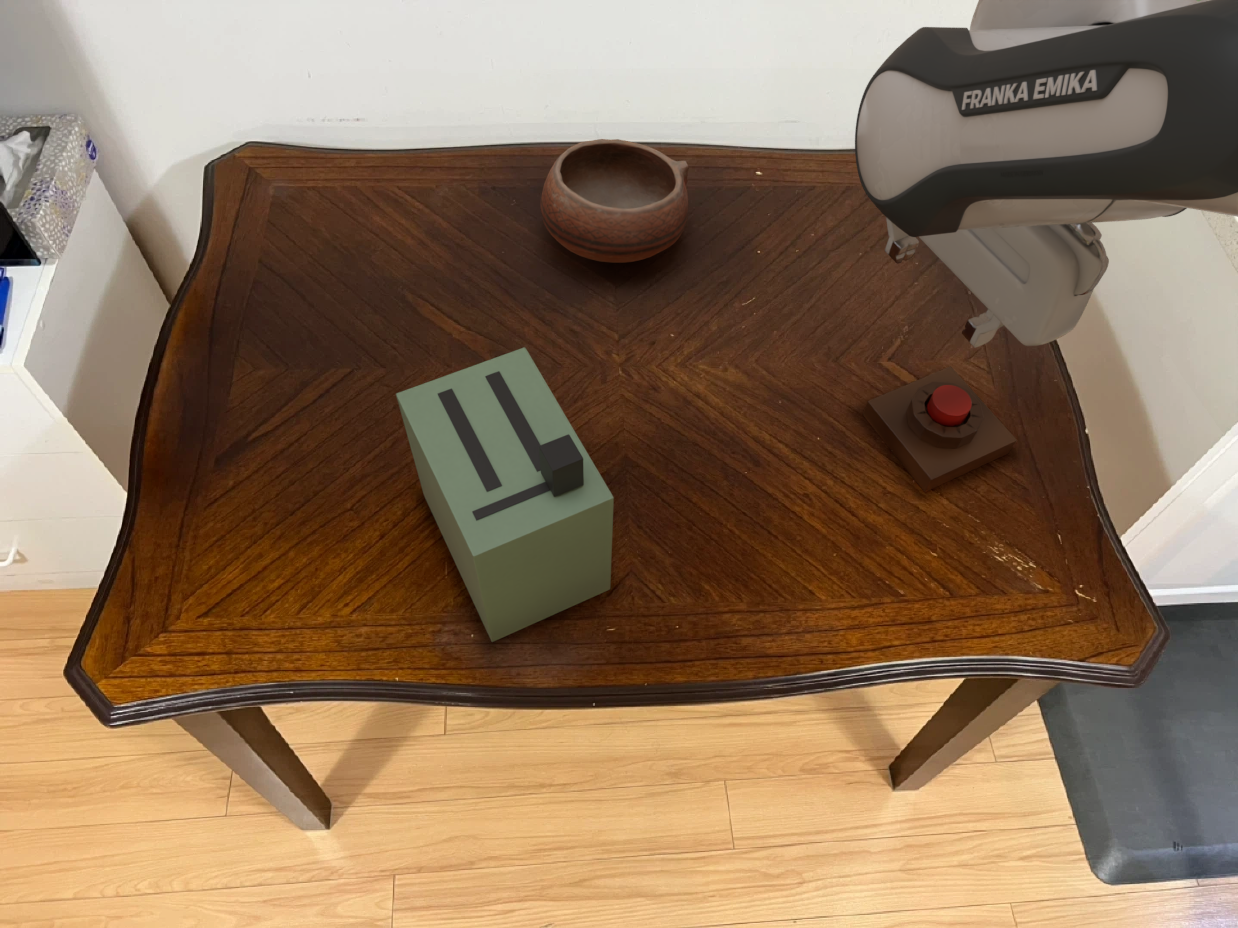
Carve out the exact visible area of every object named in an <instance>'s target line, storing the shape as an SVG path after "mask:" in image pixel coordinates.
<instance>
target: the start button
mask: <svg viewBox="0 0 1238 928" xmlns="http://www.w3.org/2000/svg"><path fill="white" fill-rule="evenodd" d="M971 406H972V401H971V398H970V396H969V395H968V394H967V393H966V392H965V391H964V390H963V389H961V388H959V387H957V386H953V385H943V386H940V387H938V388H937V389H936V390H935V391H934V392H933V394H932V396H931V398H930V400H929V403H928V405H927V411H928V414H929V416H930V417H931V418H932V419H933V420H934V421H935V422H936V423H938V424H940V425H943V426H948V427H952V426H957V425H959V424H961V423H962V422H963V421H964V420H965V418H966V416H967V415H968V413H969V411H970V409H971Z"/></svg>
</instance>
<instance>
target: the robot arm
mask: <svg viewBox="0 0 1238 928" xmlns="http://www.w3.org/2000/svg"><path fill="white" fill-rule="evenodd" d="M969 25H970V26H969V28H968V27H949V26H947V27H945V26H943V27H942V26H941V27H940V26H922V27H920V28H918V29H917V30H916V31H915V32H913V33H912V34H911V35H910V36H909V37H908V38H906V39H905V40H904V41H903V42H902V43H901V44H900V45H899V46H898V47H897V48H895V49H894V51H892V52H891V53H890V55H889V56H888V57H887V58H886V59H885V60H884V62H882V64H881V65H880V66H879V67H878V68H877V70H876V71H875V72H874V74H873V75H872V77H871V78H870V79H869V81H868V83H867V84H866V87H865V89H864V92H863V94H862V97H861V100H860V103H859V107H858V111H857V116H856V123H855V131H854V156H855V165H856V170H857V175H858V178H859V182H860V184H861V187H862V189H863V191H864V194H866V196H867V197H868V198H869V200H870V201H871V202H872V203H873V205H874V206H875V207H876V208H877V209H878V210H879V211H880V212H881V213H882V214H883V216H884V217H885V221H886V227H887V234H888V239H887V243H886V245H885V247H884V252H885V254H886V255H888V256H889V257H890V258H891V259H892V260H893V261H894V263H895V264H896V265H898V264H902V263H903V261H905V262H907V261H909V260H911V259H912V258H913V257H914V255H915V254H916V249H917V248H918V246H919V243H920V241H919V239H920V240H921V241H922V243H924V244H925V246H926V247H928V248H929V249H930V250H931V251H932V253H933V254H934V255H935V256H936V257H937V258H938V259H939V260H940V261H941V262H942V263H943V264H944V265H945V266H946V267H947V268H948V270H950V271H951V273H953V274H954V275H955V277H956V278H958V280H960V282H961V283H962V284H963V285H964V286H965V287H966V288H967V289H968V290H969V291H970V292H971V293H972V294H973V295H974V296H975V297H976V298H977V299H978V300H979V301H980V302H981V303H982V304H983V305H984V306H985V308H986V309H987V310H986V311H985V312H983V313H980V314H979V315H978V316H973V317H971V318H969V319H967V321H966V323H965V325H964V329H962V331H961V335H962V336H963V337H964V338H965V339H966V340H967V341H968V342H969V344H970V345H971V346H972V347H973V348H976V349H977V348H978V347H982V346H983V345H985V344H988V343H989V342H990V341H991V340H993V339H994V337H995V335H996V333H997V331H998V330H999V329H1000V328H1003V327H1005V328H1006V329H1007V330H1008V332H1010V334H1011V335H1013V336H1014V337H1015V339H1016V340H1017V341H1018V342H1020V343H1021V344H1022V345H1023V346H1025V347H1037V346H1042V345H1045V344H1048V343H1051V342H1054V341H1056V340H1058V339H1060V338H1062V337H1064V336H1065V335H1067V334H1069V333H1071V332H1072V330H1074V329H1075V328H1076V326H1077V325H1078V323H1079V322H1080V320H1081V318H1082V316H1083V315H1084V314H1083V313H1084V312H1085V310H1086V307H1087V306H1088V304H1089V301H1090V299H1091V297H1092V294H1093V292H1094V290H1095V288H1096V287H1097V286H1098V284H1099V283H1100V281H1101V280H1102V278H1103V276H1104V275H1105V273H1106V272H1107V270H1108V267H1109V263H1110V259H1109V257H1108V255H1107V251H1106V248H1105V247H1104V244H1103V242H1102V241H1101V239H1102V236H1103V235H1102V233H1101V231H1100V230H1099V228H1098V227H1097V226H1096V225H1095V224H1096V223H1113V222H1126V221H1129V222H1130V221H1140V220H1141V221H1142V220H1150V219H1151V220H1152V219H1155V218H1157V219H1158V218H1169V217H1172V216H1176V215H1179V214H1181V213H1182V212H1184V211H1186V210H1187V209H1190V210H1196V211H1203V212H1209V213H1213V214H1220V215H1226V216H1231V217H1237V218H1238V0H978V1H977V4H976V7H975V9H974V12H973V15H972V18H971V22H970V24H969ZM1094 223H1095V224H1094ZM918 238H919V239H918Z"/></svg>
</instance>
